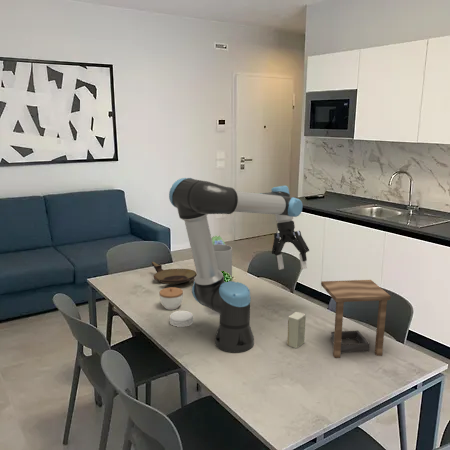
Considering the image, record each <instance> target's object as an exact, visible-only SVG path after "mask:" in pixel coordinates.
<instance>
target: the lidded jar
mask: <svg viewBox="0 0 450 450" xmlns="http://www.w3.org/2000/svg"><path fill="white" fill-rule="evenodd" d="M183 296H184V290H183V289H182V288H179V287H175V286H174V287H172V286H171V287H164V288H162V289H161V290H160V291H159V300H160V303H161V305H162V307H164V308H165V310H168V311H169V310H171V311H172V310H173V311H174V310H176V309H178V308H179V306H181V304H182V302H183Z"/></svg>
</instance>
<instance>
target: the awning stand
mask: <svg viewBox="0 0 450 450" xmlns="http://www.w3.org/2000/svg"><path fill="white" fill-rule="evenodd" d="M320 285H321V288H323V289H324V290H325V291H326V292H327V294H328V295H329V296H330V298H331V299H333V300H334V302H335V315H334V317H335V318H334V319H335V320H334V331H330V332H331V334H330V340H331V341H332V344H333V347H332V348H333V350H332V351H333V352H332V356H333V358H334V359H339V358H341V354H342V353H359V352H360V353H361V352H370V343H369V341H368V340H367V339H366V338H365V337H364V335H363V334H362V333H361V332H360V331H359V330H344V331H343V320H344V319H343V317H344V307H345V305H344V304H345V303H350V302H351V303H352V302H376V301H378V310H377V319H376V320H377V322H376V333H375V334H376V335H375V342H374V343H375V344H374V354H375V355H376V356H378V357H379V356H383V352H384V339H385V326H386V317H387V305H388V301H391V297H392V296H391V295H390V294H389V293H388V292H386V290H384V288H382V287H380V286H379V285H378V284H377V283H376V282H374V281H373V280H372V279H354V280H350V279H349V280H326V281H321V282H320ZM342 340H356V341H357V342H358V343H357V342H355V343H354V342H353V343H343V342H342Z"/></svg>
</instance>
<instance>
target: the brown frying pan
mask: <svg viewBox="0 0 450 450" xmlns="http://www.w3.org/2000/svg"><path fill="white" fill-rule="evenodd" d="M151 265H152V267H153V268H154V269H155V271H156V272H155V273H154V274H153V279H155V280H156V281H158V282H159V283H163V284H167V285H179V284H183V283H187V282H188V281H191V280H195V277H196V275H197V272H196V270H193V269H189V268H169V269H163V268H162V264H158V263H156V262H155V261H151Z"/></svg>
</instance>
